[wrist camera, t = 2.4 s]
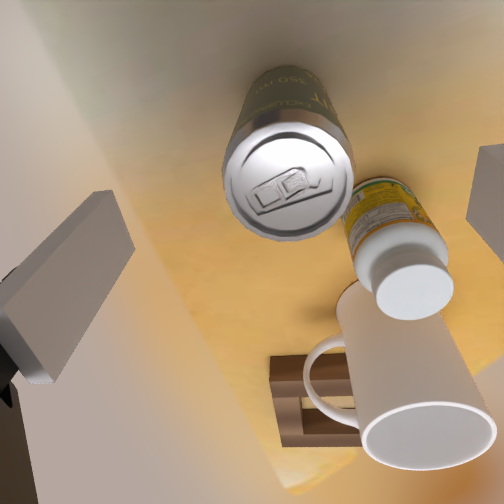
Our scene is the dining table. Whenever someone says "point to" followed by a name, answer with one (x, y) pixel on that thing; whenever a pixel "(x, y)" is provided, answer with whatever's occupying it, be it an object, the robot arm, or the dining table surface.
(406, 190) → the supplement bottle
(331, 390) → the holder
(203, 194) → the dining table surface
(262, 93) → the beer can
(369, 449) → the mug
